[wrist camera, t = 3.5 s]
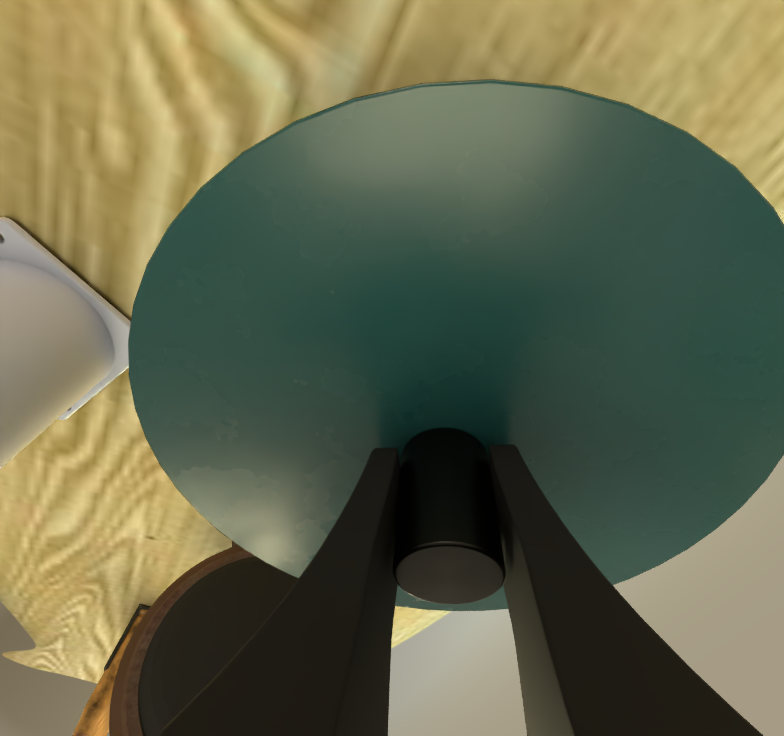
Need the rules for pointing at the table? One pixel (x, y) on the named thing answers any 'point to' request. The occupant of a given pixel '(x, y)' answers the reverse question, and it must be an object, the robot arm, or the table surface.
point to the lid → (467, 331)
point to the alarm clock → (192, 637)
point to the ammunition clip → (106, 686)
